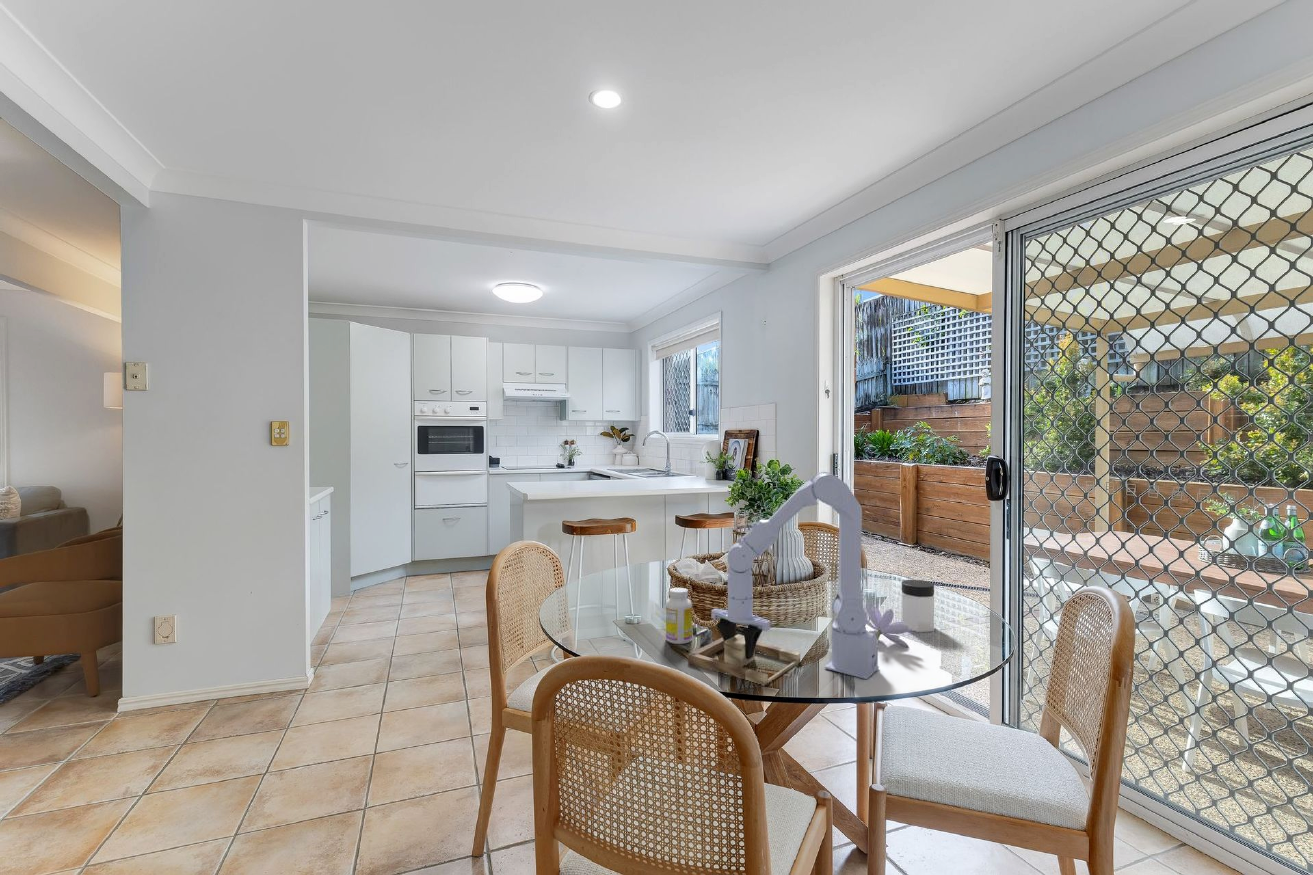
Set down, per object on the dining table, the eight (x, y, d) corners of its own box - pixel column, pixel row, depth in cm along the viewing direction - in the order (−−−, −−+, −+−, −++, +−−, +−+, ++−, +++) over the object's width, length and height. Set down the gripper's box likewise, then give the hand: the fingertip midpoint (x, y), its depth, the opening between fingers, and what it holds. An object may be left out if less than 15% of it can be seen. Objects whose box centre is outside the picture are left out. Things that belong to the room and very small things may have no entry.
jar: (940, 628, 162) (941, 584, 162) (926, 635, 157) (926, 589, 156) (909, 620, 169) (909, 577, 169) (893, 626, 164) (894, 582, 163)
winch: (704, 641, 151) (704, 619, 151) (714, 643, 149) (714, 622, 149) (688, 649, 146) (688, 627, 146) (698, 652, 144) (698, 629, 144)
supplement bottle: (690, 635, 155) (691, 586, 155) (693, 644, 149) (693, 593, 149) (664, 635, 155) (665, 586, 155) (666, 645, 149) (666, 593, 148)
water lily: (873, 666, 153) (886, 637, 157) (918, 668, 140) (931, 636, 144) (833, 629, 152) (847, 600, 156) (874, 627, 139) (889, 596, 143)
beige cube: (755, 659, 140) (755, 638, 140) (741, 668, 135) (741, 645, 135) (738, 654, 143) (738, 633, 142) (723, 663, 138) (723, 641, 137)
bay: (800, 661, 138) (800, 653, 138) (764, 686, 125) (764, 676, 125) (727, 642, 151) (727, 634, 151) (688, 662, 137) (688, 654, 137)
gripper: (776, 598, 137) (776, 657, 137) (722, 587, 146) (722, 642, 146) (761, 605, 131) (761, 666, 132) (706, 593, 141) (706, 651, 141)
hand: (739, 654), depth 139 cm, fingers closed on beige cube, 4 cm apart
